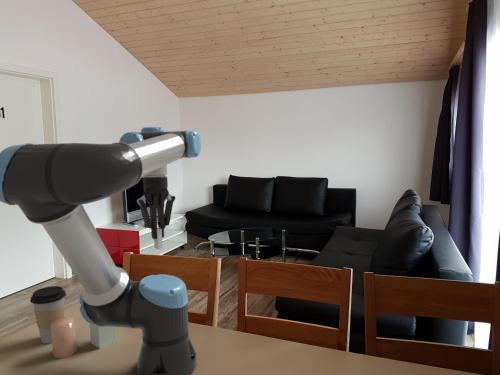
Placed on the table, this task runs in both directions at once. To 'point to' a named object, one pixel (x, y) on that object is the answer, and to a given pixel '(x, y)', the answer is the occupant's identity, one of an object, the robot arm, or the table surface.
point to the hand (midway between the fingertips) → (158, 248)
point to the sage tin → (102, 335)
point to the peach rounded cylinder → (63, 337)
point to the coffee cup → (48, 309)
